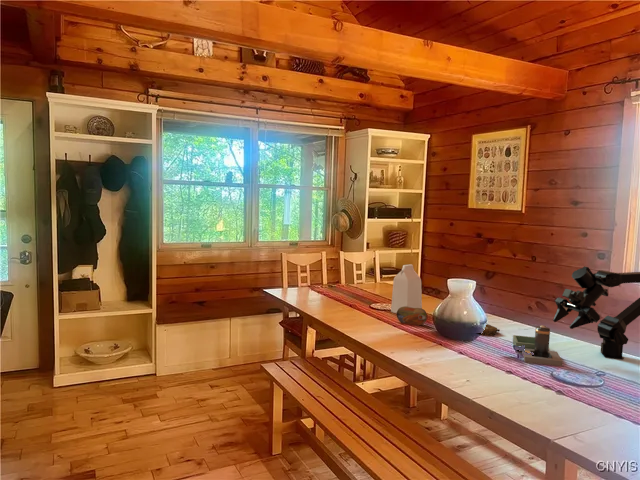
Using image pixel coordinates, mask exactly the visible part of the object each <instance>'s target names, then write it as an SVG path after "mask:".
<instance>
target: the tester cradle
mask: <svg viewBox="0 0 640 480" xmlns="http://www.w3.org/2000/svg"><path fill="white" fill-rule="evenodd" d="M525 352H527V353H530V352H533V353H534V349H526V348H525ZM563 361H564V360H563V359H562V358H561V356H560V355H559V353H558V351H555V350H554V351H553V350H549V354H548V358H544V357H535V356H532V354H531V353H530V355H525V354H524V359H523V362H524V363H529V364H539V365H545V366H547V365H549V366H554V367H563V363H564V362H563Z"/></svg>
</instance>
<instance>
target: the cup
mask: <svg viewBox="0 0 640 480" xmlns="http://www.w3.org/2000/svg"><path fill="white" fill-rule="evenodd" d="M512 335H513V336H512V345H513V346H514V345H516V346H522V345H525V348H526V349H534V347H535V336H527V335H526V336H525V335H515V334H512Z"/></svg>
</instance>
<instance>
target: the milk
mask: <svg viewBox="0 0 640 480" xmlns="http://www.w3.org/2000/svg"><path fill="white" fill-rule="evenodd" d="M392 282H393V283H392V293H391V307H390V308H391V309H390V313H394V314H397V311H398V309H399V308H401V307H404V306H407V307H415V308H422V309H423V302H422V300H423V297H422V294H423V293H422V279H421V277H420V275H419V274H418V273H417V272H416V271H415V269H414V265H413V264H403V265H402V268H401V270H400V271H399V272H398V273H397V274H396V275H395V276H394V278H393V281H392Z"/></svg>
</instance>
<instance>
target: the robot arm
mask: <svg viewBox="0 0 640 480" xmlns="http://www.w3.org/2000/svg"><path fill="white" fill-rule="evenodd" d="M571 277H572V279H573V280H574V282H576V283H577V285H579V287H580V288H581V289H583V290H576V291H574V290H571V289H567V288H565V289H564V290H563V293H562V294H561V296H562V297H557V298H556V299H555V300H554V302H555V305H556V307H557V310H556V312H555V315H554V317H553V320H552V322H554V323H556V322H559V321H561V320H562V319H563V318H565V317H566V316H568V315H570V313H571V312H572V311H574V312H578V315H577V317H575V319H574V320H573V321H572V322H571V324H570V325H569V329H571V330H572V329H575V328H579V327H582V326H585V325H588V324H589V325H590V324H593V323H595V324H596V323H597V322H599V323H598V324H597V333H598V336H599V338H600V339H602V342H601V343H600V353H601V354H602V356H603V357H604V358H609V359H620V360H624V359H625V358H624V357H623V351H624V345H627V344H628V341H629V338H628V337H627V336H626V335H625V333H626V330H627V326H628V325H629V324H631V323H633V321H635V320H636V319H637V318H638V317H640V297H639V298H637V299H636V300H635V301H633V302H632V303H631V304H629V305H628V306H627V307H626V308H625V309H624V310H622V311H621V312H620V313H619V314H617V315H615V316H611V315H607V316H605V317H604V318H603V319H602V320H601V316H600V314H599V312H598V311H596V309H595V308H594V307H596V306H597V303H596V302H597V301H598V299H600V297H601V296H603V297H604V296H605V297H609V292H608V289H607V287H608V288H614V287H619V286H621V285H623V284H636V283H639V284H640V271H634V272H633V271H629V272H613V271H607V270H601V269H600V270H597V272H595V273H593V271H592V270H591V268H590V267H589V266H583V267H581V268H578V269H576V270H574V271H573V272H572V274H571ZM603 286H604V287H606V288H604V287H603ZM564 297H565V298H564Z"/></svg>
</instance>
